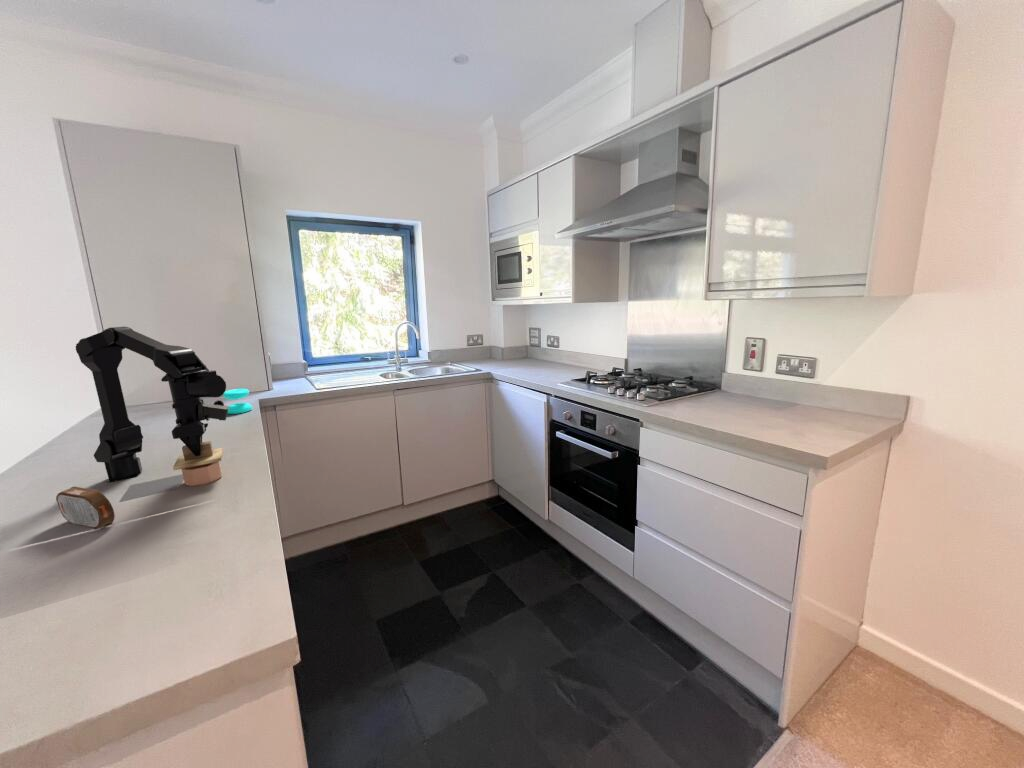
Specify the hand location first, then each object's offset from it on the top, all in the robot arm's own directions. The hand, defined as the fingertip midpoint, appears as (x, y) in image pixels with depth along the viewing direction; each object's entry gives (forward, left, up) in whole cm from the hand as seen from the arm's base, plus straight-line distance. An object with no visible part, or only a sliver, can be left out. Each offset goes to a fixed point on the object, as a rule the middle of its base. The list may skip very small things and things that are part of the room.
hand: (198, 454), depth 113 cm
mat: (-11, +3, -8) cm, 14 cm away
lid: (0, 0, -2) cm, 2 cm away
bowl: (0, 0, -8) cm, 8 cm away
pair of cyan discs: (+7, +88, -8) cm, 89 cm away
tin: (-20, -13, -8) cm, 25 cm away
